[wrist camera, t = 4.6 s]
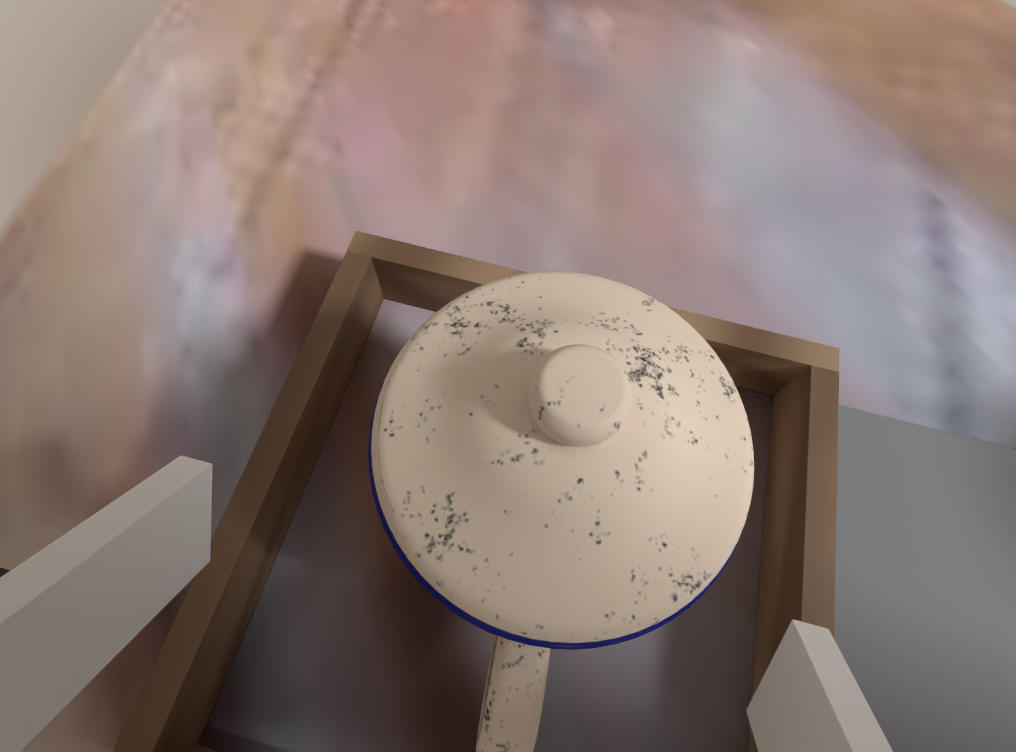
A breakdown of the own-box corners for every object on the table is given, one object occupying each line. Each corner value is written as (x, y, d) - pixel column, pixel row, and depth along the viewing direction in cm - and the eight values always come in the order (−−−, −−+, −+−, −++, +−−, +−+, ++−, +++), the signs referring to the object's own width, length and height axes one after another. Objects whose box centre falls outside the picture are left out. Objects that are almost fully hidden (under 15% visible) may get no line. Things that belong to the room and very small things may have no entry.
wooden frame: (798, 380, 24) (839, 348, 21) (768, 968, 16) (827, 1038, 13) (369, 274, 25) (356, 230, 22) (152, 772, 17) (90, 799, 15)
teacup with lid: (442, 375, 23) (409, 162, 12) (661, 417, 23) (819, 234, 12) (356, 706, 18) (180, 817, 8) (633, 765, 18) (855, 968, 7)
